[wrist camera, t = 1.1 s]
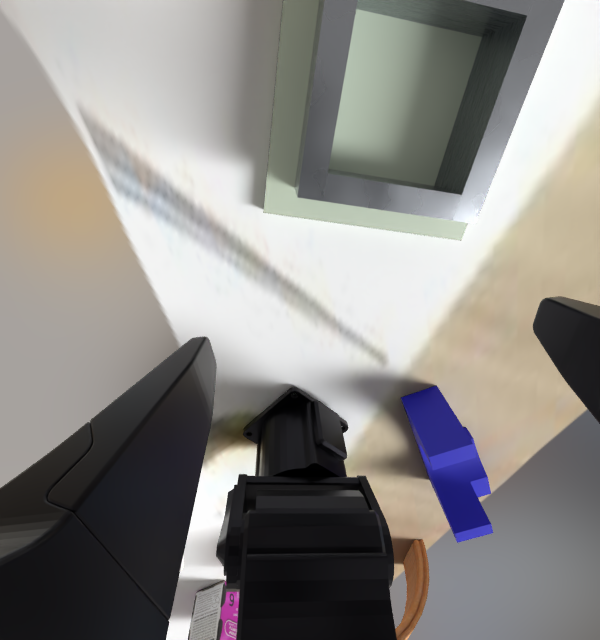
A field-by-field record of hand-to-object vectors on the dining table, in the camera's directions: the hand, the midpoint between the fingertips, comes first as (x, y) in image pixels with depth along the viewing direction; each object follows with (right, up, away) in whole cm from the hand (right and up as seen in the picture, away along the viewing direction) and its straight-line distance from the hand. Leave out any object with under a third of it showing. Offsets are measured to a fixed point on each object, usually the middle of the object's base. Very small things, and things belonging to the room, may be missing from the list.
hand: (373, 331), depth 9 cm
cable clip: (+11, -10, +21) cm, 26 cm away
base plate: (+3, +11, +8) cm, 14 cm away
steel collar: (+3, +11, +8) cm, 14 cm away
